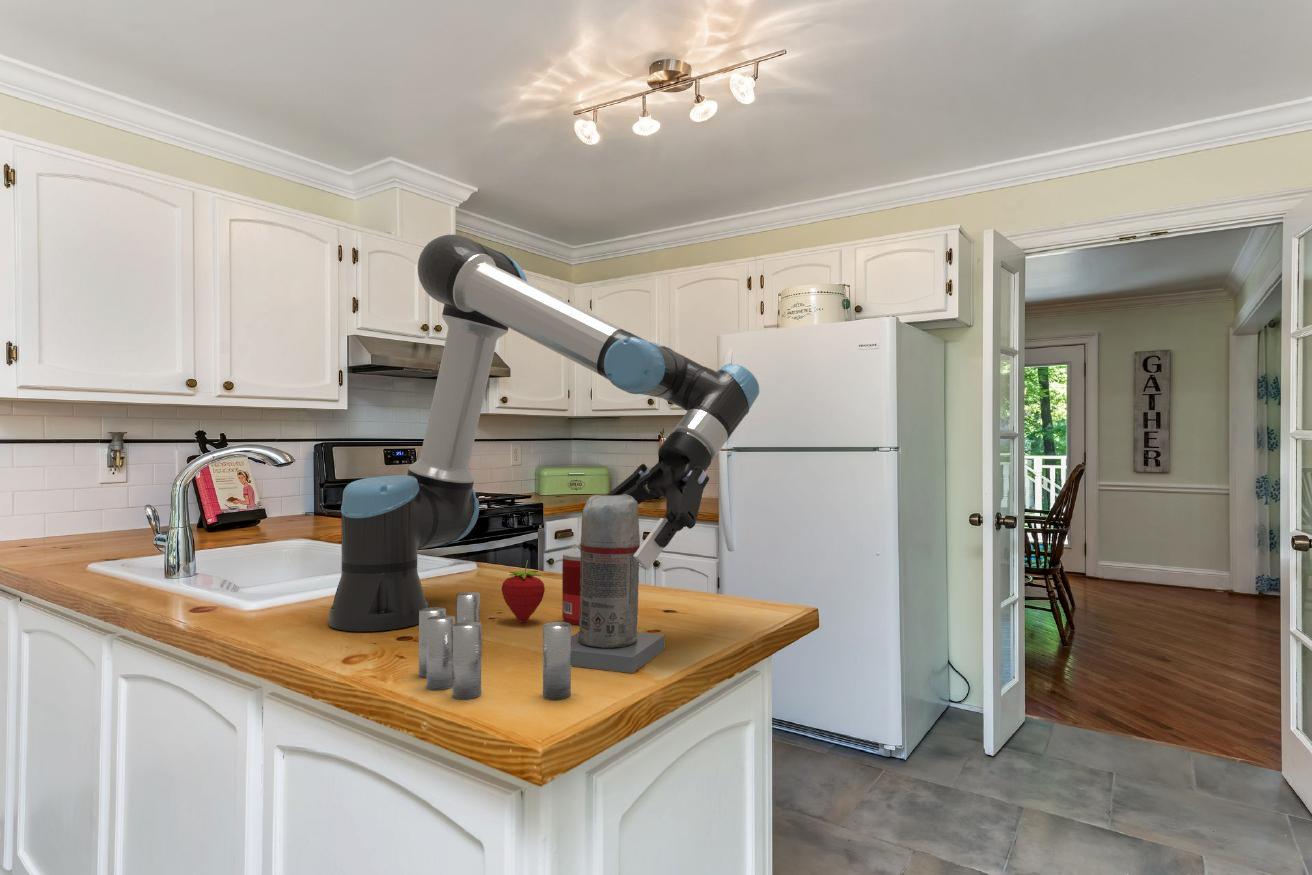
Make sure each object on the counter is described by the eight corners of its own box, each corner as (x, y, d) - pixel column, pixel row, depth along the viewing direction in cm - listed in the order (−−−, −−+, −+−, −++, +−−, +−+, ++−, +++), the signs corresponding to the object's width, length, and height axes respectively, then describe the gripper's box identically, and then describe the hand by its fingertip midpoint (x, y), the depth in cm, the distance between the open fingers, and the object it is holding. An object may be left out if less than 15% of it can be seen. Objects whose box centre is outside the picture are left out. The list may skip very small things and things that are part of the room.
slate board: (548, 663, 98) (548, 647, 98) (587, 641, 109) (587, 627, 109) (632, 673, 94) (632, 657, 94) (664, 649, 105) (664, 635, 105)
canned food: (603, 627, 118) (603, 557, 118) (555, 624, 120) (555, 555, 120) (615, 616, 126) (616, 551, 126) (570, 614, 127) (570, 549, 127)
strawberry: (516, 615, 126) (516, 556, 126) (552, 621, 122) (553, 559, 122) (492, 623, 120) (493, 561, 120) (530, 628, 117) (530, 564, 117)
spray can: (652, 641, 102) (653, 495, 102) (609, 653, 96) (610, 497, 96) (609, 630, 107) (610, 492, 108) (566, 641, 101) (567, 494, 102)
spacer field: (373, 686, 88) (374, 618, 88) (464, 647, 105) (465, 591, 106) (547, 711, 80) (547, 637, 80) (615, 665, 97) (615, 603, 97)
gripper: (766, 466, 103) (685, 587, 94) (653, 463, 123) (576, 563, 113) (739, 427, 100) (652, 548, 90) (627, 430, 119) (545, 530, 110)
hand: (609, 557), depth 102 cm, fingers open, 13 cm apart
